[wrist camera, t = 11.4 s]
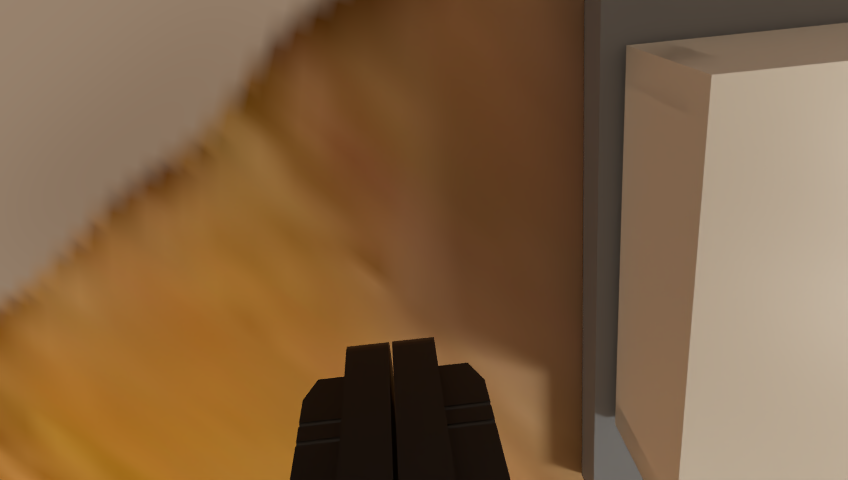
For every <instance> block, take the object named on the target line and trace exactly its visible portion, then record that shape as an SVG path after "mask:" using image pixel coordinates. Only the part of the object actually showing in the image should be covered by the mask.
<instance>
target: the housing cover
mask: <svg viewBox="0 0 848 480" xmlns="http://www.w3.org/2000/svg"><path fill="white" fill-rule="evenodd" d="M615 425H616V427H617V429H618V431H619V433H620V435H621V437H622V439H623V441H624V443H625V445H626V447H627V449H628V451H629V453H630V455H631V457H632V459H633V461H634V463H635V465H636V466H637V468H638V470H639V472H640V474H641V476H642V478H643V480H848V23H838V24H829V25H819V26H809V27H799V28H790V29H780V30H770V31H760V32H751V33H741V34H731V35H722V36H712V37H702V38H692V39H683V40H673V41H663V42H653V43H644V44H634V45H626V78H625V111H624V144H623V177H622V211H621V244H620V277H619V310H618V343H617V376H616V409H615Z"/></svg>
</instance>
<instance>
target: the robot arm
mask: <svg viewBox="0 0 848 480" xmlns="http://www.w3.org/2000/svg"><path fill="white" fill-rule="evenodd" d="M392 348H393V367H392V359H391V351H390V345H389V342H386V343H377V344H368V345H359V346H350V347H347V349H346V362H345V376H344V377H337V378H329V379H320V380H318V381H317V382H316V383H315V385H314V386H313V387H312V389H311V390H310V391H309V393H308V394H307V395H306V397H305V398H304V399H303V402H302V409H301V415H300V421H299V427H298V433H297V440H296V447H295V452H294V458H293V464H292V471H291V477H290V480H510V476H509V473H508V469H507V465H506V461H505V457H504V453H503V449H502V445H501V441H500V438H499V434H498V430H497V426H496V423H495V418H494V414H493V410H492V407H491V405H490V399H489V395H488V391H487V387H486V383H485V380H484V379H483V378H482V377H481V376H480V375H479V374H478V373H477V372H476V371H475V370H474V369H473V368H472V367H471V366H470V365H469V364H468V363H460V364H452V365H443V366H438V361H437V355H436V348H435V342H434V337H430V338H421V339H412V340H403V341H394V342H392ZM393 371H394V375H393Z"/></svg>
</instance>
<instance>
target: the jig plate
mask: <svg viewBox="0 0 848 480" xmlns="http://www.w3.org/2000/svg"><path fill="white" fill-rule="evenodd" d="M838 23H848V0H585V10H584V188H583V366H582V476H583V478H584V480H643V478H642V476H641V474H640V472H639V470H638V468H637V466H636V465H635V463H634V461H633V459H632V457H631V455H630V453H629V451H628V449H627V447H626V445H625V443H624V441H623V439H622V437H621V435H620V433H619V431H618V429H617V427H616V425H615V409H616V376H617V343H618V310H619V277H620V244H621V211H622V177H623V144H624V111H625V78H626V45H634V44H644V43H653V42H663V41H673V40H683V39H692V38H702V37H712V36H722V35H731V34H741V33H751V32H760V31H770V30H780V29H790V28H799V27H809V26H819V25H829V24H838Z"/></svg>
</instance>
